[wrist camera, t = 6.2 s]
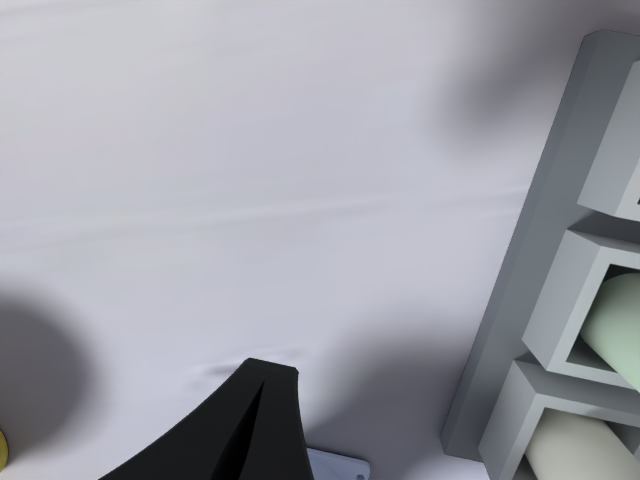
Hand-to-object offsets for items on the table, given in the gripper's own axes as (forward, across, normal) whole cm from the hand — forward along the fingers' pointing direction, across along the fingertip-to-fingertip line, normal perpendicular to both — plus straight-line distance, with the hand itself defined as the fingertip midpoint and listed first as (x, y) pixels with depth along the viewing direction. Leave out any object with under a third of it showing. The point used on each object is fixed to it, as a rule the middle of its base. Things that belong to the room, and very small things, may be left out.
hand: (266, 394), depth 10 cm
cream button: (+9, -14, +5) cm, 17 cm away
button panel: (+10, -14, -2) cm, 18 cm away
